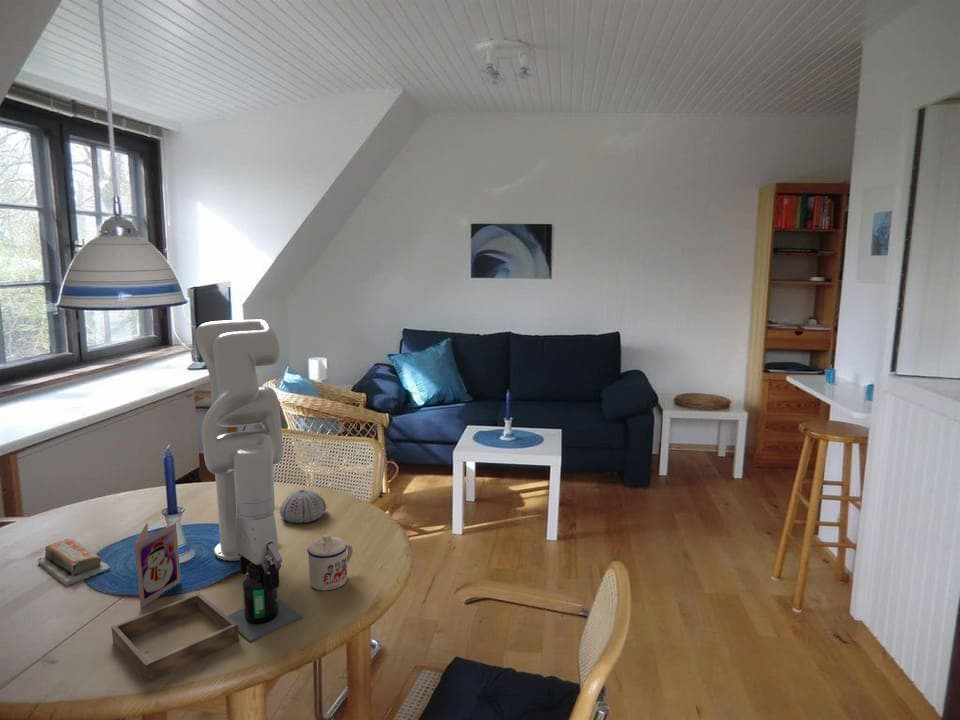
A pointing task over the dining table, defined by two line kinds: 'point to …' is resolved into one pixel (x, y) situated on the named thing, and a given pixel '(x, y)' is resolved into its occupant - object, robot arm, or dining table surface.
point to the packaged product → (71, 561)
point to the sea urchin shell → (302, 506)
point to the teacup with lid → (328, 562)
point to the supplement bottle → (258, 596)
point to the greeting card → (157, 562)
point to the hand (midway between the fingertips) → (259, 580)
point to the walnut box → (183, 654)
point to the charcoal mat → (260, 630)
